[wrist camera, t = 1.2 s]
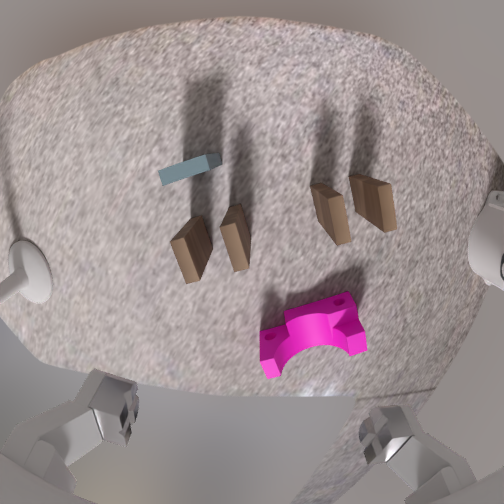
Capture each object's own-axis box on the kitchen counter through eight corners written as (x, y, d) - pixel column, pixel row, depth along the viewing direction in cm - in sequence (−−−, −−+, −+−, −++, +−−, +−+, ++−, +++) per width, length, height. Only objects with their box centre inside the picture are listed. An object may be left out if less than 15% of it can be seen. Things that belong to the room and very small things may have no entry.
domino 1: (182, 164, 36) (158, 170, 27) (218, 152, 35) (205, 154, 26) (186, 175, 36) (162, 185, 27) (222, 164, 36) (209, 169, 27)
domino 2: (201, 215, 38) (183, 237, 29) (212, 249, 40) (199, 280, 31) (190, 218, 38) (169, 241, 29) (202, 251, 40) (186, 283, 31)
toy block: (347, 290, 42) (362, 317, 35) (353, 322, 44) (367, 350, 37) (254, 318, 44) (254, 348, 37) (266, 347, 46) (267, 378, 39)
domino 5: (359, 174, 36) (390, 183, 26) (365, 209, 38) (397, 229, 28) (348, 176, 36) (377, 186, 27) (355, 211, 38) (384, 232, 28)
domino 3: (240, 203, 38) (235, 223, 28) (251, 238, 39) (249, 268, 30) (229, 207, 38) (219, 227, 28) (239, 241, 40) (234, 272, 30)
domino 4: (321, 182, 36) (342, 195, 27) (329, 218, 38) (351, 241, 29) (309, 185, 37) (327, 198, 27) (318, 221, 38) (336, 245, 29)
